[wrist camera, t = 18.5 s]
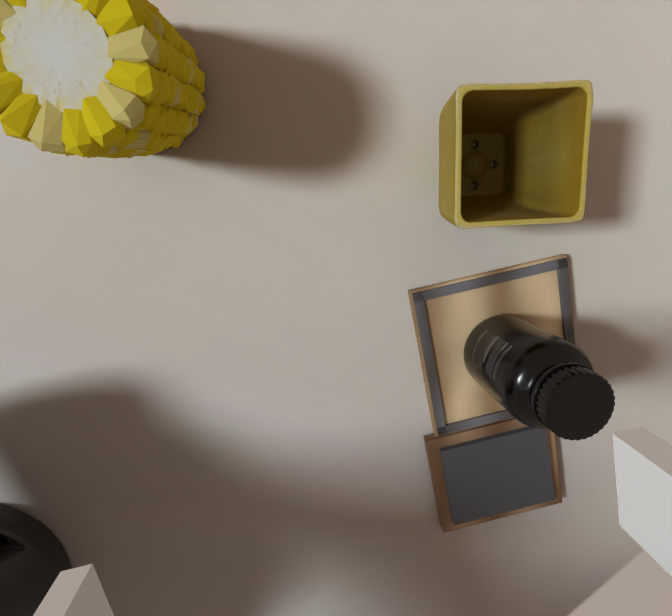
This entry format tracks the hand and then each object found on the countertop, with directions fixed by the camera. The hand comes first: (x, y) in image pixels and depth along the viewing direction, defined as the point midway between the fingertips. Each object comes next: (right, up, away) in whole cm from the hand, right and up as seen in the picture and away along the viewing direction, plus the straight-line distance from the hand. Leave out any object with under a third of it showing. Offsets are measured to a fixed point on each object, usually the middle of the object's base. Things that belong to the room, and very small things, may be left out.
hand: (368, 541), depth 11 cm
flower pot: (+10, +18, +27) cm, 34 cm away
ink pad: (+14, -10, +33) cm, 37 cm away
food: (-15, +22, +23) cm, 35 cm away
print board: (+14, +2, +30) cm, 33 cm away
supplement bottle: (+14, +2, +30) cm, 33 cm away
